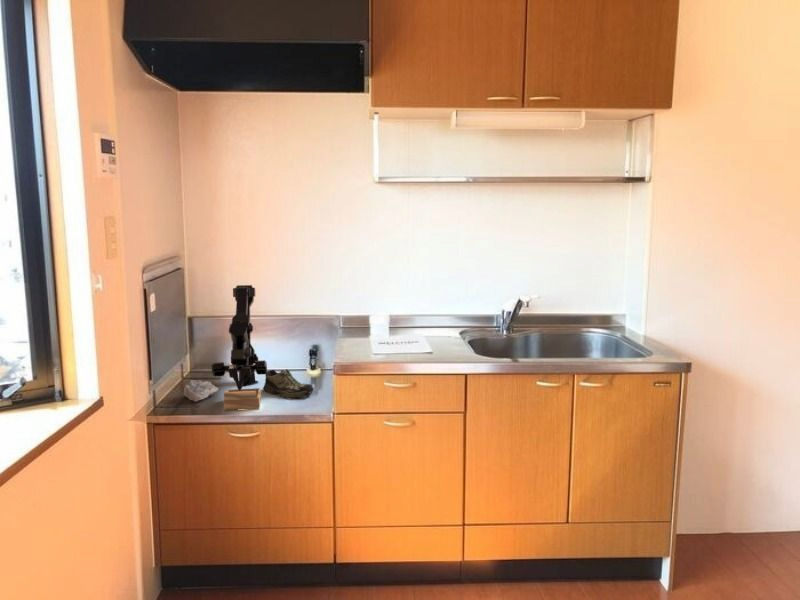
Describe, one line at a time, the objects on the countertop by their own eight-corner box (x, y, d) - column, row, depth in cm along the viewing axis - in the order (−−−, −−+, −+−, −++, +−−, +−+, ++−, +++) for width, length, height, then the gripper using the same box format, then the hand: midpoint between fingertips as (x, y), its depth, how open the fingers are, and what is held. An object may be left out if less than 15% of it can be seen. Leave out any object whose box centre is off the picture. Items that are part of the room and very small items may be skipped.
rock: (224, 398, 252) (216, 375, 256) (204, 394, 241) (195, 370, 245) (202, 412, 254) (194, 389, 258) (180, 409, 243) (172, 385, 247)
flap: (223, 392, 229) (223, 393, 229) (255, 390, 231) (255, 391, 231) (225, 399, 234) (225, 400, 234) (256, 397, 236) (256, 398, 236)
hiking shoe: (304, 401, 246) (304, 376, 244) (256, 394, 254) (255, 370, 253) (317, 395, 253) (316, 371, 252) (269, 388, 262) (269, 364, 261)
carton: (227, 400, 247) (227, 389, 246) (260, 398, 249) (260, 388, 248) (224, 411, 235) (223, 400, 235) (259, 409, 237) (258, 398, 236)
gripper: (210, 340, 235) (208, 380, 226) (265, 338, 237) (265, 377, 229) (214, 356, 244) (212, 395, 235) (267, 354, 247) (267, 392, 238)
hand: (239, 390), depth 234 cm, fingers closed
